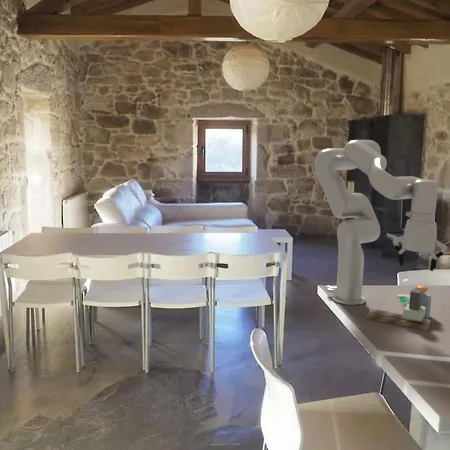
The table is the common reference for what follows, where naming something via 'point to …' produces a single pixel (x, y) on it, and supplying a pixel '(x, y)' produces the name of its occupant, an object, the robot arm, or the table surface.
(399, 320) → the rail board
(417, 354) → the table surface
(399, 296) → the smartphone
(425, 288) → the plunger
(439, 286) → the table surface
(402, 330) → the table surface
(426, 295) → the cabinet
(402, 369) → the table surface
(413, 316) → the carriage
